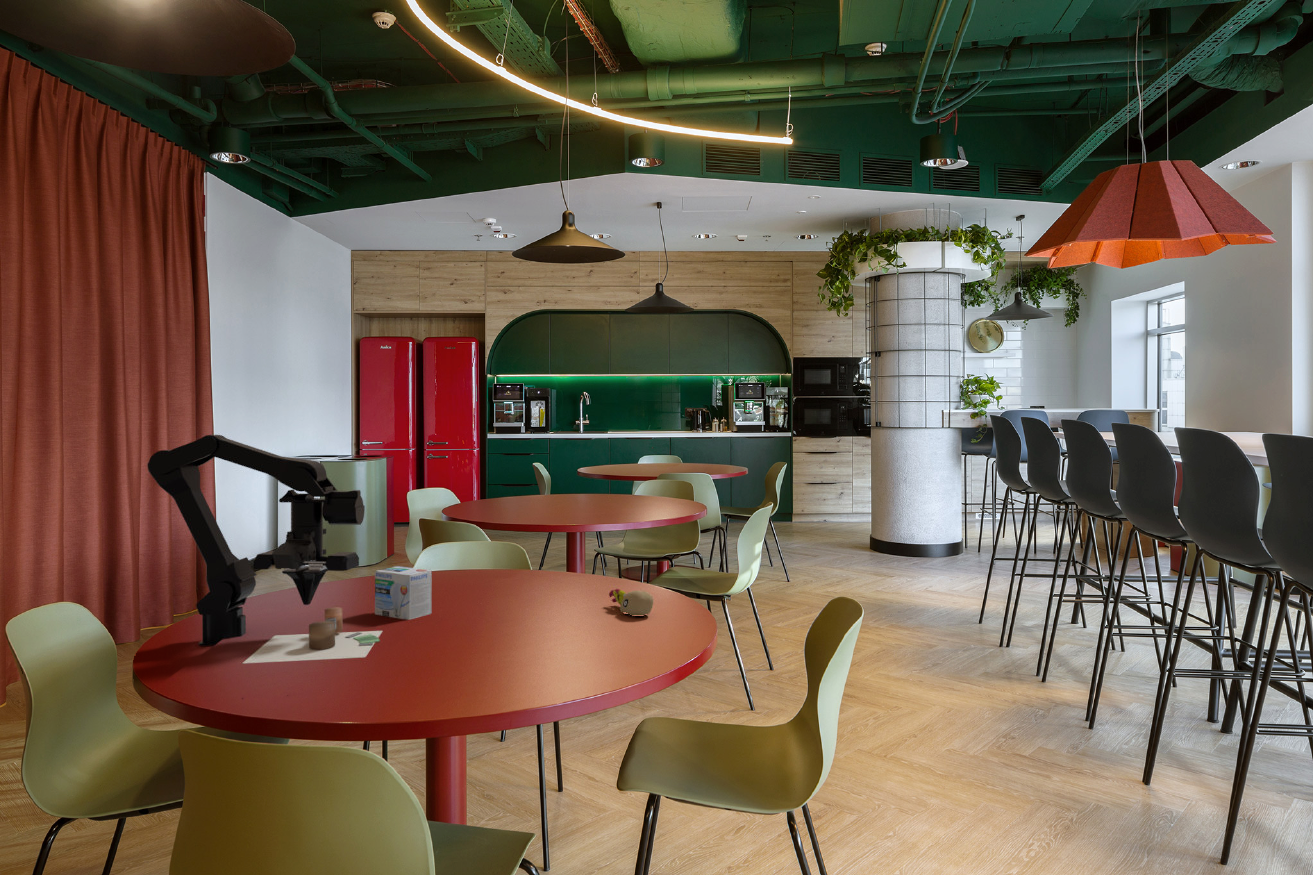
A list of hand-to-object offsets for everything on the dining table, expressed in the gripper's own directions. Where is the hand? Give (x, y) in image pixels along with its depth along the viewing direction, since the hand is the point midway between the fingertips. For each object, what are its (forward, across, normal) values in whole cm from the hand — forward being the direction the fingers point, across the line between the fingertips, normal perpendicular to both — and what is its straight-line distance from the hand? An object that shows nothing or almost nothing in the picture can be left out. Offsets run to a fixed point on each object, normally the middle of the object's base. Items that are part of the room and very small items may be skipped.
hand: (306, 604), depth 150 cm
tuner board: (+7, +7, -8) cm, 12 cm away
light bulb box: (+7, +12, +17) cm, 22 cm away
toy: (+7, +60, +28) cm, 67 cm away
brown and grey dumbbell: (+6, +7, -5) cm, 10 cm away
